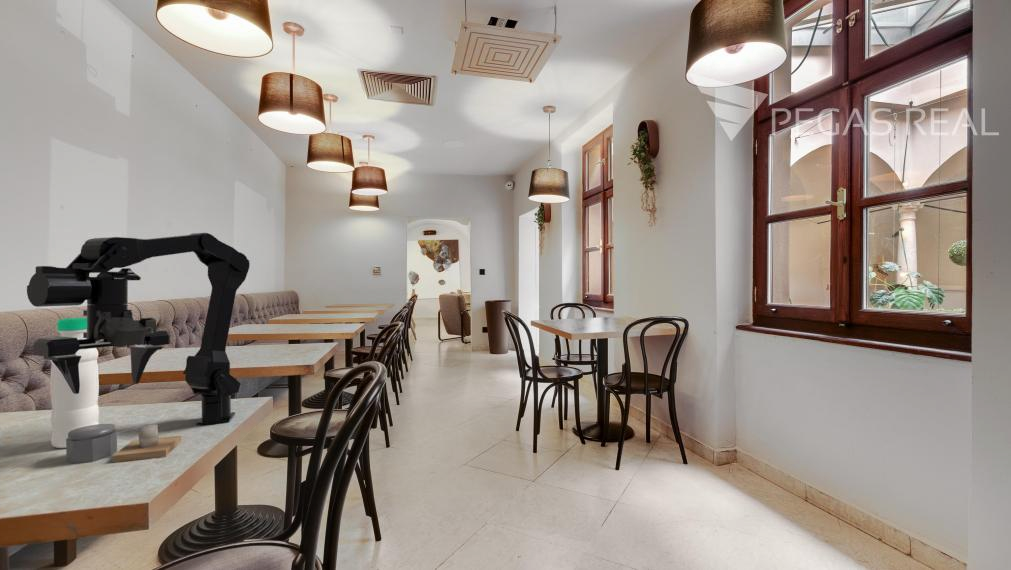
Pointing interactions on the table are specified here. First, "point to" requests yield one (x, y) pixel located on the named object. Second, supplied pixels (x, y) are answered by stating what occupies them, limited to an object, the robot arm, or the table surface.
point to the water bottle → (66, 404)
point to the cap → (91, 443)
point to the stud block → (147, 445)
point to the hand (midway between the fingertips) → (107, 388)
